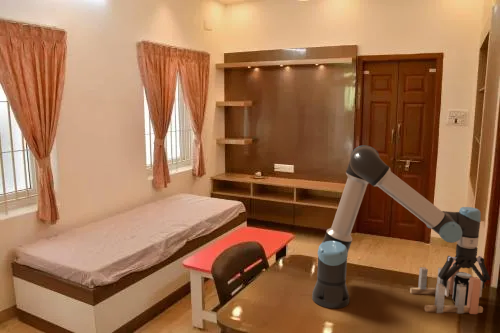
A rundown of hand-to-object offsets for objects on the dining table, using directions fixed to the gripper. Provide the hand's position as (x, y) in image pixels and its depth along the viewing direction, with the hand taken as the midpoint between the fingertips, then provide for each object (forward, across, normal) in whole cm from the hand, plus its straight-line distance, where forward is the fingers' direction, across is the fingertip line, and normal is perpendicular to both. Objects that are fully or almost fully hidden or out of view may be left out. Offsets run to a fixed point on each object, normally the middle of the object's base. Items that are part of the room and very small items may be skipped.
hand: (462, 295), depth 161 cm
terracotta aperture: (+3, 0, 0) cm, 3 cm away
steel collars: (+3, -9, 0) cm, 10 cm away
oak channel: (+3, -7, 0) cm, 8 cm away
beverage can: (+3, 0, 0) cm, 3 cm away
